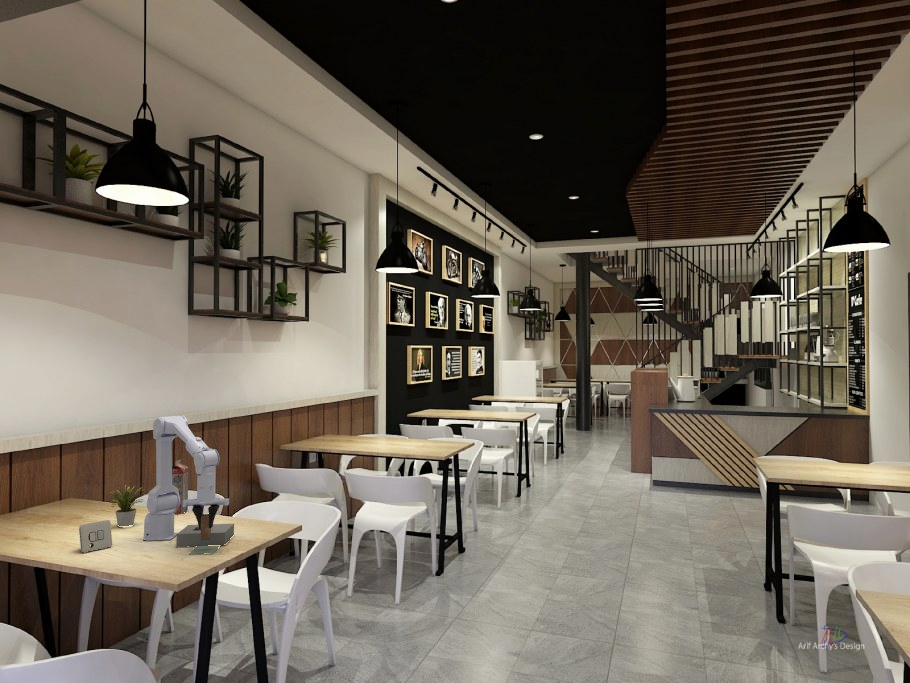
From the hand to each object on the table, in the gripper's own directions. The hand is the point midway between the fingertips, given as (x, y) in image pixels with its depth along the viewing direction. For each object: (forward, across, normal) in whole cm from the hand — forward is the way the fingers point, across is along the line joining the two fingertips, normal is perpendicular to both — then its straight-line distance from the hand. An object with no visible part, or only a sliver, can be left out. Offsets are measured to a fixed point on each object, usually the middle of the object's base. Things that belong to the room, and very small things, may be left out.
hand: (205, 527), depth 202 cm
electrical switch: (+8, -38, +6) cm, 39 cm away
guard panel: (+8, -3, +11) cm, 14 cm away
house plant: (+8, -40, +34) cm, 53 cm away
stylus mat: (+8, 0, 0) cm, 8 cm away
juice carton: (+8, -28, +56) cm, 63 cm away
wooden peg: (+4, 0, 0) cm, 4 cm away
